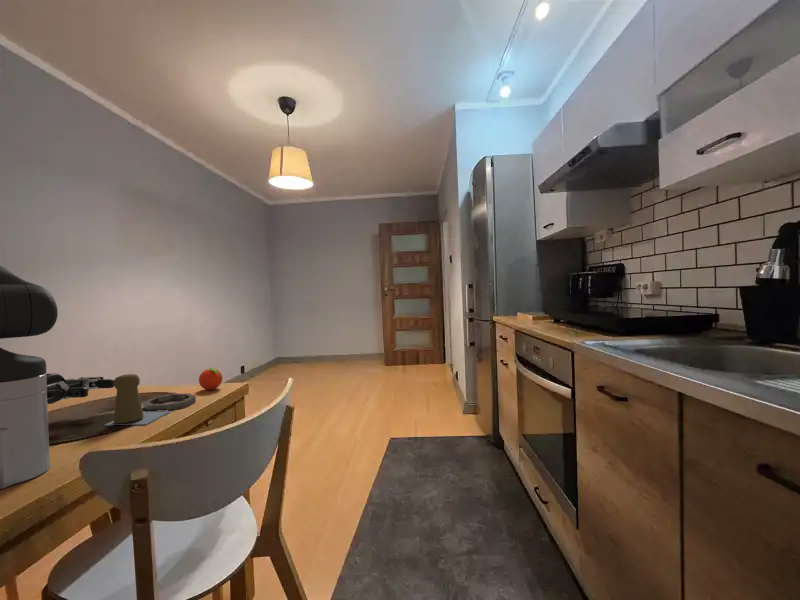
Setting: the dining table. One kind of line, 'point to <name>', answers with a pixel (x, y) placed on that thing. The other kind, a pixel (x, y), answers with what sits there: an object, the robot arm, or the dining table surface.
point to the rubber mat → (147, 419)
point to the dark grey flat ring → (153, 406)
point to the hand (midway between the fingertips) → (100, 387)
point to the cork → (127, 399)
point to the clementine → (210, 379)
